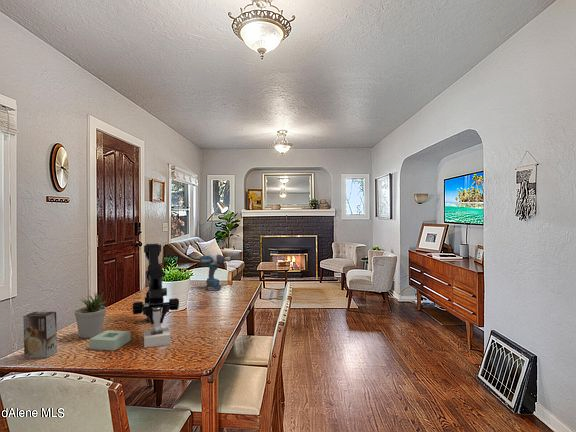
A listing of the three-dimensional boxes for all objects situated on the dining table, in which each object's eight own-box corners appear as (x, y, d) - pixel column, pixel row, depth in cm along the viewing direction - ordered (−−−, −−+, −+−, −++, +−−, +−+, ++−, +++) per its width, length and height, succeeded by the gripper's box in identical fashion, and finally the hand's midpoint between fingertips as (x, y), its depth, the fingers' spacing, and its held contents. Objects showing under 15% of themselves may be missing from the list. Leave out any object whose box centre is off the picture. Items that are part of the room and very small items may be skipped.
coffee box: (58, 351, 140) (57, 311, 140) (47, 358, 134) (46, 316, 134) (34, 351, 140) (34, 311, 140) (22, 358, 134) (22, 316, 134)
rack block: (107, 339, 154) (107, 330, 154) (130, 340, 152) (130, 331, 152) (89, 349, 143) (89, 339, 143) (114, 350, 141) (114, 340, 141)
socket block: (144, 339, 153) (144, 330, 153) (168, 336, 157) (168, 327, 157) (144, 347, 144) (144, 338, 144) (170, 344, 148) (170, 334, 148)
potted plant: (71, 342, 150) (71, 295, 149) (76, 332, 162) (76, 289, 162) (105, 338, 155) (104, 292, 154) (107, 329, 167) (107, 286, 167)
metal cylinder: (150, 338, 150) (150, 307, 150) (158, 336, 153) (158, 306, 153) (155, 340, 148) (154, 309, 148) (163, 338, 151) (162, 307, 150)
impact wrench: (230, 291, 246) (230, 255, 246) (198, 291, 246) (198, 255, 246) (232, 288, 254) (232, 253, 254) (201, 288, 254) (201, 253, 254)
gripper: (132, 283, 150) (132, 316, 140) (178, 280, 157) (181, 311, 147) (133, 297, 158) (132, 330, 148) (176, 293, 165) (179, 324, 155)
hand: (156, 323), depth 149 cm, fingers closed on metal cylinder, 3 cm apart
